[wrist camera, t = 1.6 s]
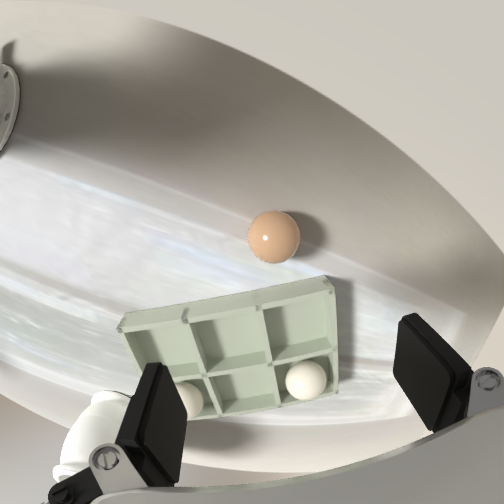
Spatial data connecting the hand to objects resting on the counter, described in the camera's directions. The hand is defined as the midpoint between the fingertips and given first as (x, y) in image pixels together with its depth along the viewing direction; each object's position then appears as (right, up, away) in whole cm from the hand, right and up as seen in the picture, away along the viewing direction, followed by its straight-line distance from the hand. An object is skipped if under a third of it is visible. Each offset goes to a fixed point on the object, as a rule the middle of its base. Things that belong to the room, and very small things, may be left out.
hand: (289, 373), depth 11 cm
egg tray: (-3, -7, +21) cm, 23 cm away
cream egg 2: (+4, -9, +22) cm, 24 cm away
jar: (-20, -18, +24) cm, 36 cm away
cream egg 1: (-9, -12, +21) cm, 26 cm away
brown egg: (0, +7, +17) cm, 19 cm away
